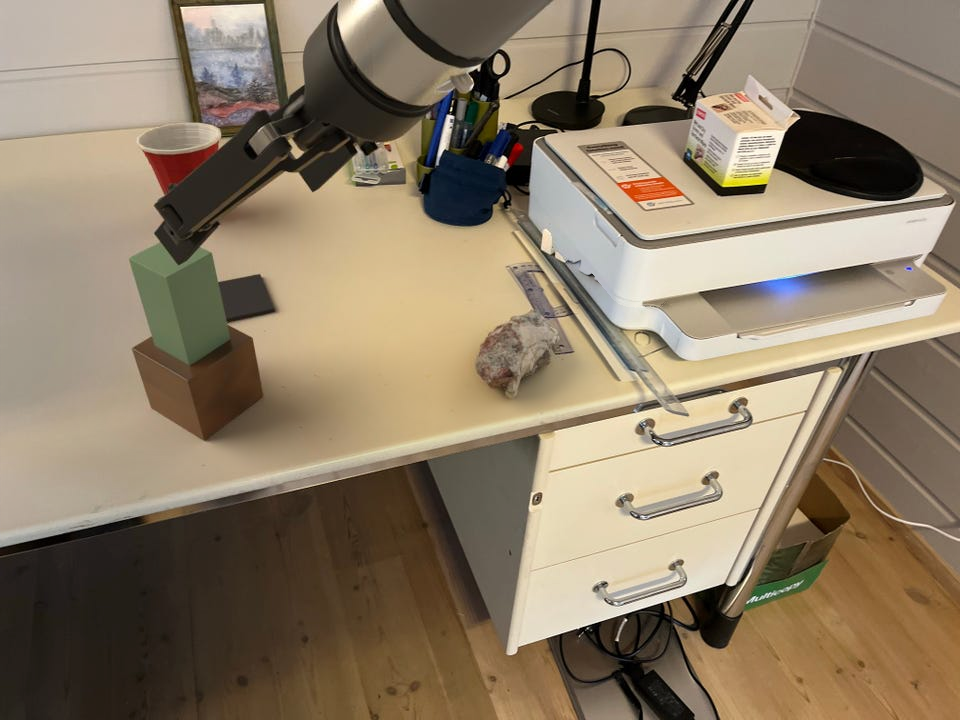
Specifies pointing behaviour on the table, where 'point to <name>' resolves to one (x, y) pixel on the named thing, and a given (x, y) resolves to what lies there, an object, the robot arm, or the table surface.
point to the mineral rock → (515, 351)
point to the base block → (201, 383)
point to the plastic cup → (178, 149)
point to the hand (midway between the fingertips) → (243, 209)
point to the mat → (245, 297)
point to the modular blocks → (549, 245)
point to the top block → (181, 302)
